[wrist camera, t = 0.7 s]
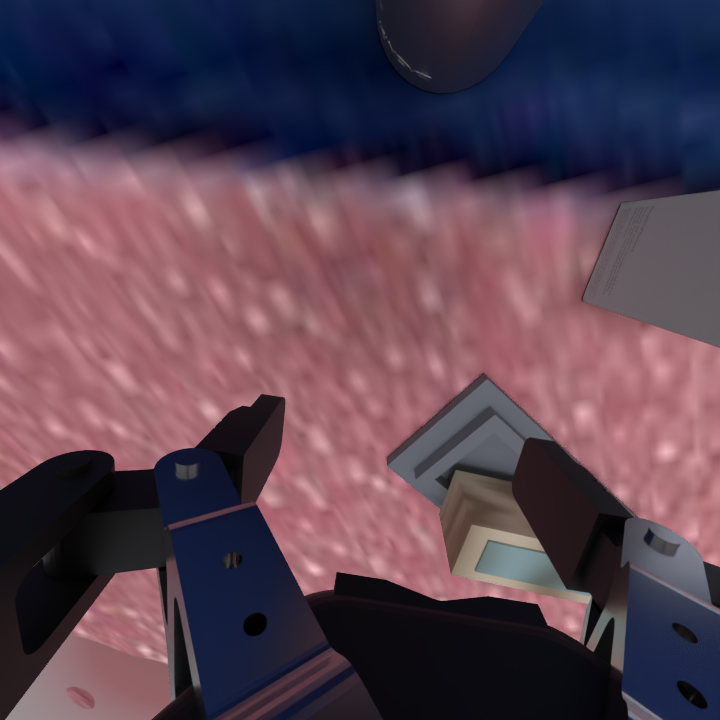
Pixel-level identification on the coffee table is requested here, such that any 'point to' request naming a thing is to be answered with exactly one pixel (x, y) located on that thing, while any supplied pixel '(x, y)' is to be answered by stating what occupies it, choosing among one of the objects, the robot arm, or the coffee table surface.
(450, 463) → the grey rectangular framed panel
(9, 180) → the coffee table surface
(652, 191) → the coffee table surface
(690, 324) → the supplement box
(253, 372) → the coffee table surface
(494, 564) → the oak frame
